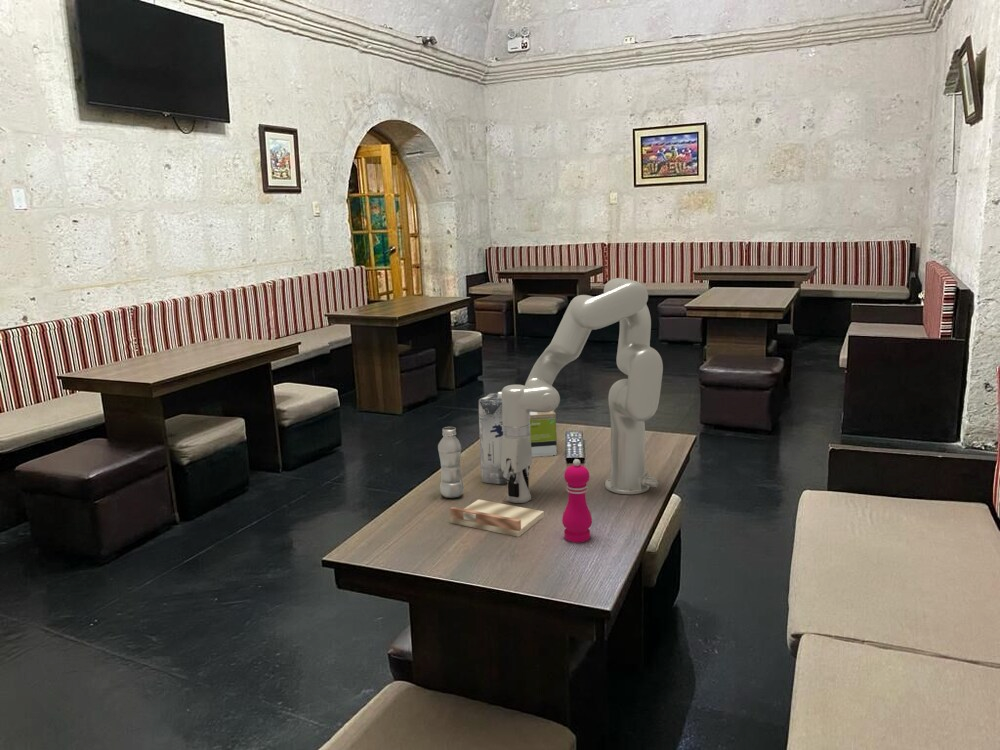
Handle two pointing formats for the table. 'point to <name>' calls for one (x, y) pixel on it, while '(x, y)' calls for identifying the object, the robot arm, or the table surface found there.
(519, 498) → the flask
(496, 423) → the juice carton
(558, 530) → the table surface
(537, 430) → the tea box
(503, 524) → the shelf board
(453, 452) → the plastic bottle
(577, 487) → the pepper mill
